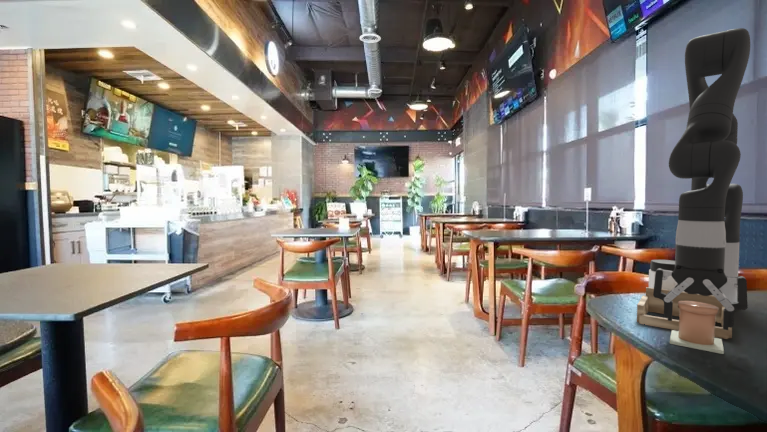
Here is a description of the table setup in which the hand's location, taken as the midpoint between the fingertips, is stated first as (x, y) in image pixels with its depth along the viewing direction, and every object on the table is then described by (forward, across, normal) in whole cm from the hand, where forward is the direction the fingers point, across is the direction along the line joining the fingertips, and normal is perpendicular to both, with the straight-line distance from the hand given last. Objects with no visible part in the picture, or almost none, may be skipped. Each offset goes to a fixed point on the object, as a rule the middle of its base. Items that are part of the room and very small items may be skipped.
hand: (696, 324), depth 75 cm
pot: (+3, 0, 0) cm, 3 cm away
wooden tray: (+4, +2, -14) cm, 15 cm away
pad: (+4, 0, 0) cm, 4 cm away
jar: (+4, +6, -30) cm, 31 cm away
